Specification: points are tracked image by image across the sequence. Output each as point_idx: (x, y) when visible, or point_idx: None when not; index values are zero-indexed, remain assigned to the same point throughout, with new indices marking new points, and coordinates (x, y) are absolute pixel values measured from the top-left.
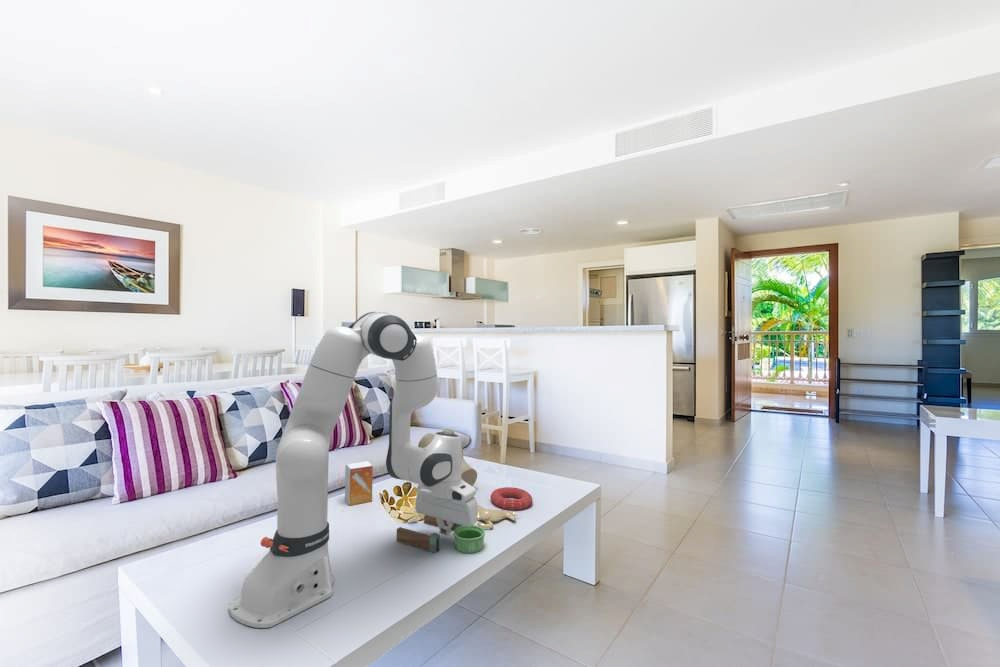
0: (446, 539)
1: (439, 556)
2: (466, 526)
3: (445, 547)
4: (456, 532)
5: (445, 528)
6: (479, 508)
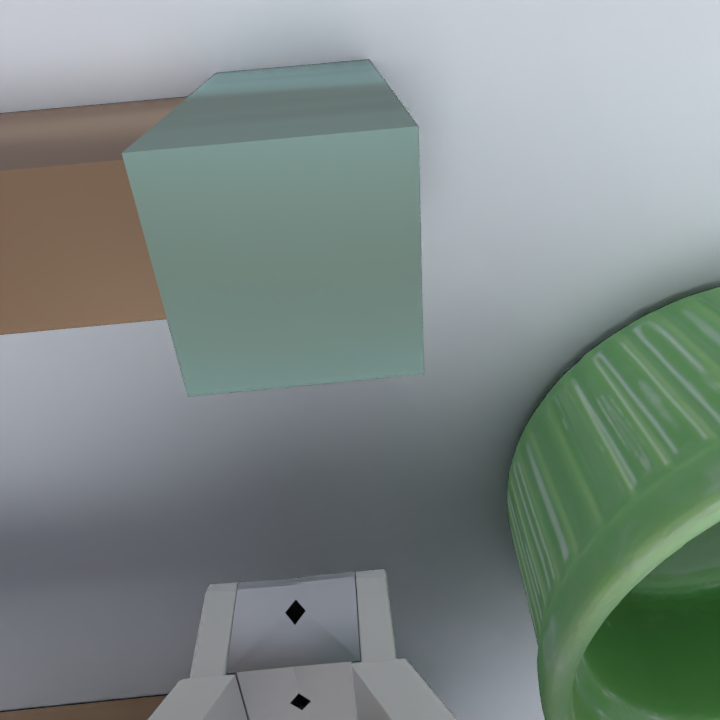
0: (301, 485)
1: (479, 717)
2: (712, 510)
3: (427, 607)
4: (575, 675)
5: (327, 716)
6: None
